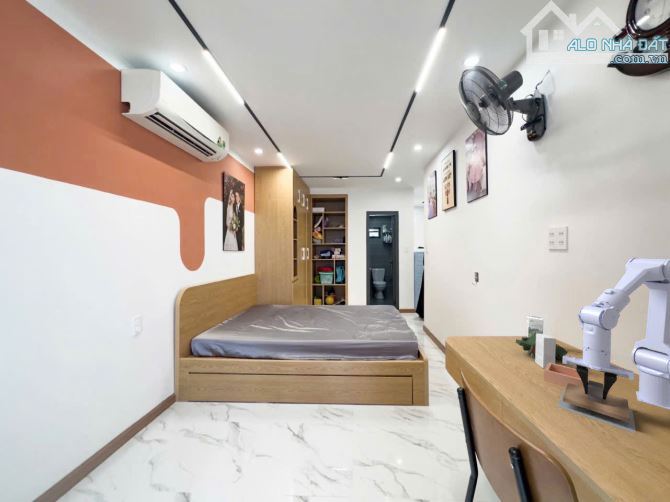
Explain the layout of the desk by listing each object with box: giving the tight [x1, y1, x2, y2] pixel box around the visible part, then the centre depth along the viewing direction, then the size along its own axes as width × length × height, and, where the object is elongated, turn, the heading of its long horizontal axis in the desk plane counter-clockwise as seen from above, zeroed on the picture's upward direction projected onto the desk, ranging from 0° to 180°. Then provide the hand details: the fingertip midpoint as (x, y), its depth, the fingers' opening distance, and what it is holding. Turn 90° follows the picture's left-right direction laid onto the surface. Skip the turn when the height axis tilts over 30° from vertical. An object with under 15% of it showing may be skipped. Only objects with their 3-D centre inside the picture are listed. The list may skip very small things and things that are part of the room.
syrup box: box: [526, 315, 544, 337], centre depth 128 cm, size 6×6×14 cm
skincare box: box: [534, 333, 557, 369], centre depth 107 cm, size 6×4×12 cm
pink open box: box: [543, 362, 584, 388], centre depth 93 cm, size 10×10×4 cm
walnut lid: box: [563, 379, 630, 423], centre depth 77 cm, size 13×13×5 cm
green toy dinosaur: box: [515, 332, 572, 363], centre depth 115 cm, size 12×18×12 cm
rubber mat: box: [557, 388, 637, 434], centre depth 77 cm, size 15×15×1 cm
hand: (595, 395), depth 77 cm, fingers closed on walnut lid, 3 cm apart
